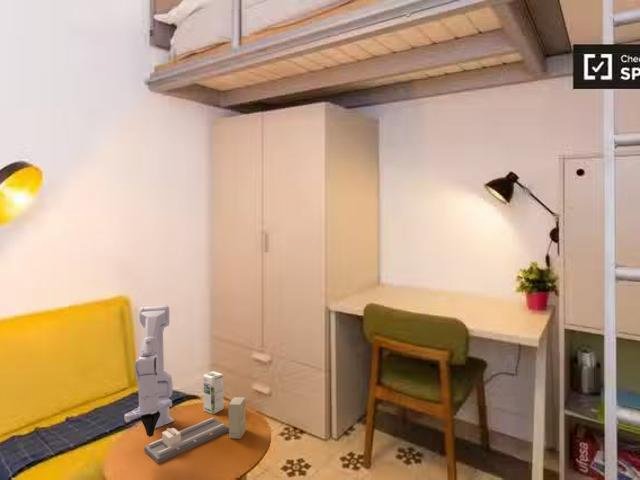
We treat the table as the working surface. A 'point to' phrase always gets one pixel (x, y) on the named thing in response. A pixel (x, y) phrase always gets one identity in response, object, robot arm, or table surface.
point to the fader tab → (171, 437)
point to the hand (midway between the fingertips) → (150, 435)
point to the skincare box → (237, 417)
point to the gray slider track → (187, 439)
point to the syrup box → (213, 392)
